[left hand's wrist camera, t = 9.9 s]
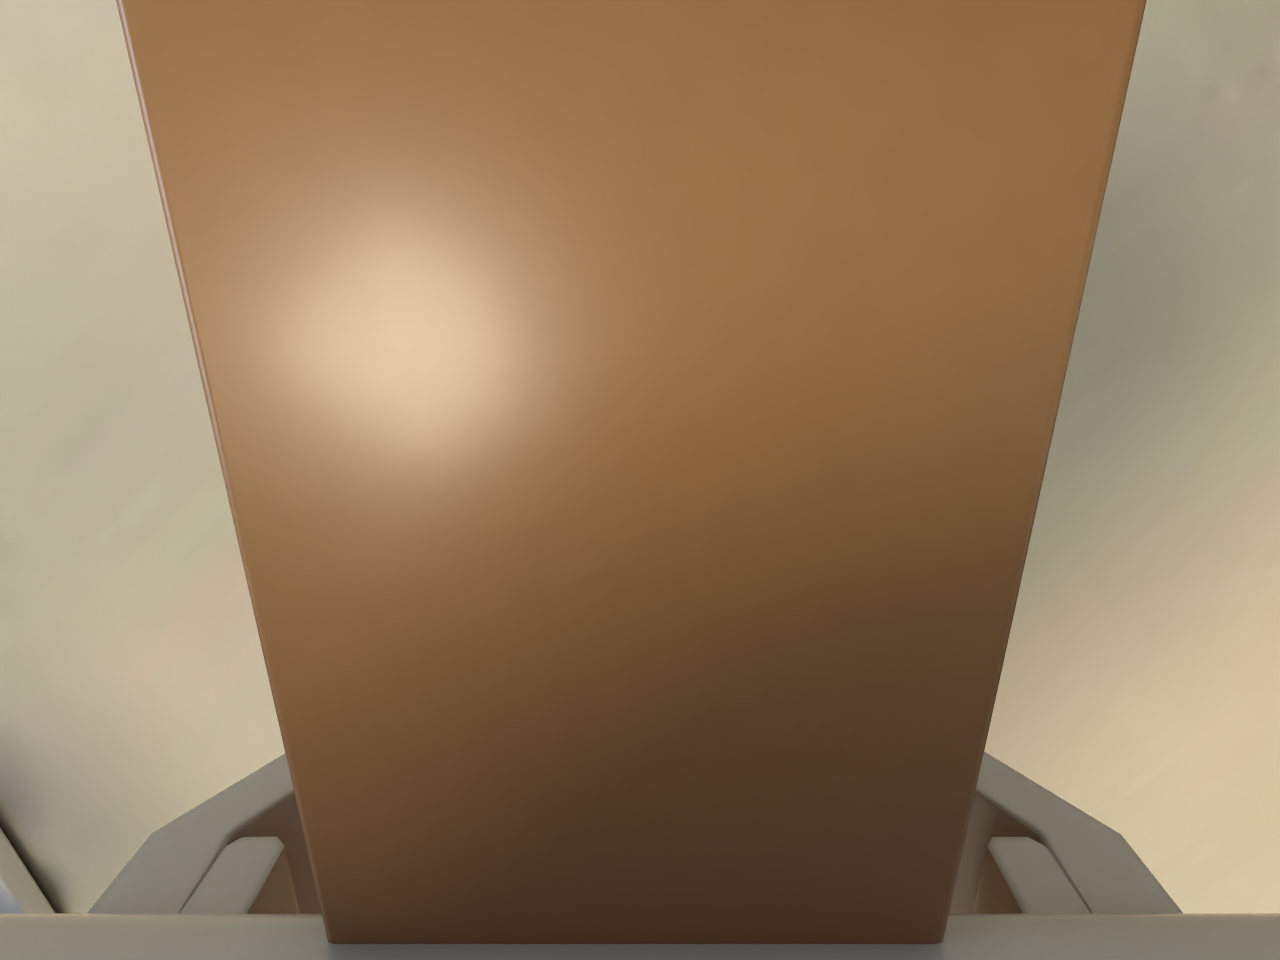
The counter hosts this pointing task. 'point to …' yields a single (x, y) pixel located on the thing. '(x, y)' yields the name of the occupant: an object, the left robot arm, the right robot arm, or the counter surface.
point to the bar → (633, 432)
